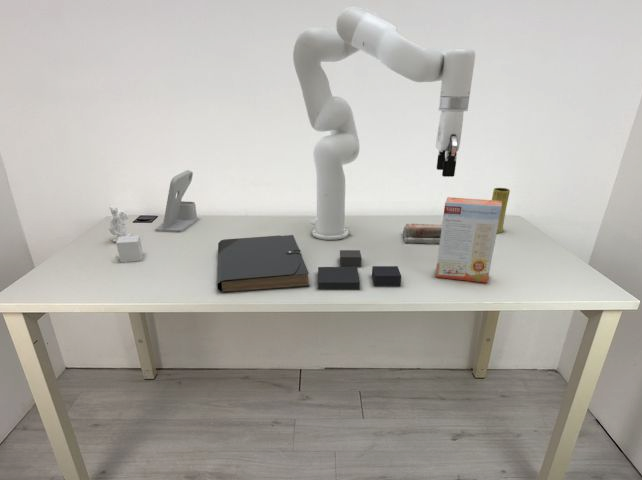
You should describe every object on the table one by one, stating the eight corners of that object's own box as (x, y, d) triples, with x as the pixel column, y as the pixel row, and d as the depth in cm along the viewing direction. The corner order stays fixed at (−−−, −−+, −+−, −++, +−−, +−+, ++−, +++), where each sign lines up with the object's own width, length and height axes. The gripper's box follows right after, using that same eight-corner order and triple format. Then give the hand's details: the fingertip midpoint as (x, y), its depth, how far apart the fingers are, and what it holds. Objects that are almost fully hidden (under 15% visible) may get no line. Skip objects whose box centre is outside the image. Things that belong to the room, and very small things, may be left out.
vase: (504, 229, 168) (513, 188, 161) (500, 234, 164) (508, 192, 156) (487, 227, 171) (495, 186, 164) (482, 231, 167) (490, 190, 159)
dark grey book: (309, 272, 123) (216, 279, 119) (310, 286, 125) (218, 294, 122) (293, 233, 151) (217, 238, 147) (294, 246, 153) (219, 251, 149)
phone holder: (174, 217, 181) (166, 168, 172) (200, 218, 180) (193, 169, 171) (155, 230, 166) (145, 177, 157) (182, 232, 165) (174, 178, 156)
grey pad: (340, 266, 137) (340, 257, 136) (339, 259, 142) (340, 250, 141) (361, 266, 137) (361, 257, 136) (359, 259, 142) (360, 250, 141)
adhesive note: (120, 262, 140) (116, 243, 137) (123, 255, 145) (118, 236, 142) (141, 260, 141) (137, 241, 138) (143, 254, 146) (139, 235, 143)
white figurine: (130, 244, 154) (122, 207, 148) (108, 245, 153) (99, 208, 147) (134, 236, 161) (127, 201, 155) (114, 237, 160) (105, 201, 154)
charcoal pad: (374, 286, 125) (374, 275, 124) (371, 276, 131) (372, 266, 130) (400, 286, 125) (401, 275, 124) (396, 276, 131) (397, 266, 130)
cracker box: (488, 276, 132) (503, 200, 121) (487, 284, 127) (502, 205, 116) (437, 269, 135) (447, 195, 125) (434, 277, 131) (445, 200, 120)
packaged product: (405, 229, 153) (403, 220, 161) (404, 243, 155) (402, 234, 164) (462, 230, 152) (456, 221, 160) (459, 244, 154) (454, 235, 163)
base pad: (317, 289, 124) (317, 282, 122) (318, 273, 133) (318, 266, 132) (359, 289, 124) (360, 282, 123) (356, 273, 133) (357, 266, 132)
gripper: (434, 102, 131) (427, 167, 140) (444, 106, 116) (436, 179, 125) (461, 102, 130) (452, 167, 139) (475, 106, 116) (464, 179, 124)
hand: (444, 172), depth 132 cm, fingers open, 9 cm apart
